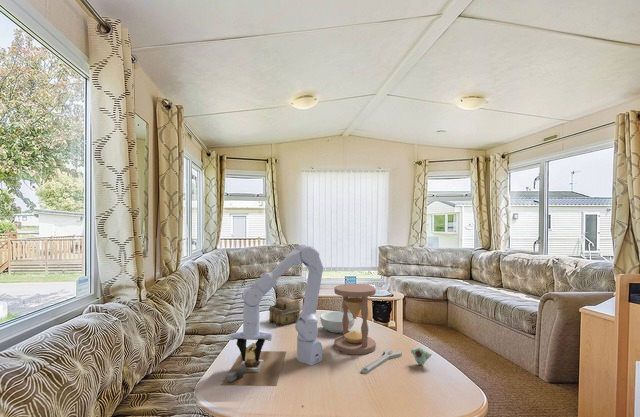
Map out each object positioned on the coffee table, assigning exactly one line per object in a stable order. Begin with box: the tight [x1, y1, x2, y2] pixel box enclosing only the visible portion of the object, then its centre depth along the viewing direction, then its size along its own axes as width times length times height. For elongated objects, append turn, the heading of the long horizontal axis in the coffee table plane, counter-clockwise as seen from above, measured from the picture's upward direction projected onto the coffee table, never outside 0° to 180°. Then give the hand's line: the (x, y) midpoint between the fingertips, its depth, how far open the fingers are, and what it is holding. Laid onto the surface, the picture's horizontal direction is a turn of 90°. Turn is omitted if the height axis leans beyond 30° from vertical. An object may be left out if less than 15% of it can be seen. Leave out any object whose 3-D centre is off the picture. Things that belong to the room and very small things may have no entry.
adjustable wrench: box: [360, 348, 403, 375], centre depth 131 cm, size 25×6×2 cm, turn 135°
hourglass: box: [333, 283, 377, 355], centre depth 146 cm, size 18×18×25 cm
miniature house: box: [268, 296, 302, 327], centre depth 181 cm, size 15×14×11 cm
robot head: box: [410, 346, 433, 366], centre depth 127 cm, size 8×4×7 cm, turn 52°
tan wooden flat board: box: [220, 350, 287, 387], centre depth 123 cm, size 18×28×4 cm, turn 179°
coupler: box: [245, 342, 257, 368], centre depth 122 cm, size 5×4×7 cm
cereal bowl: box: [319, 310, 356, 334], centre depth 167 cm, size 17×17×7 cm
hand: (251, 360), depth 122 cm, fingers closed on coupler, 4 cm apart
